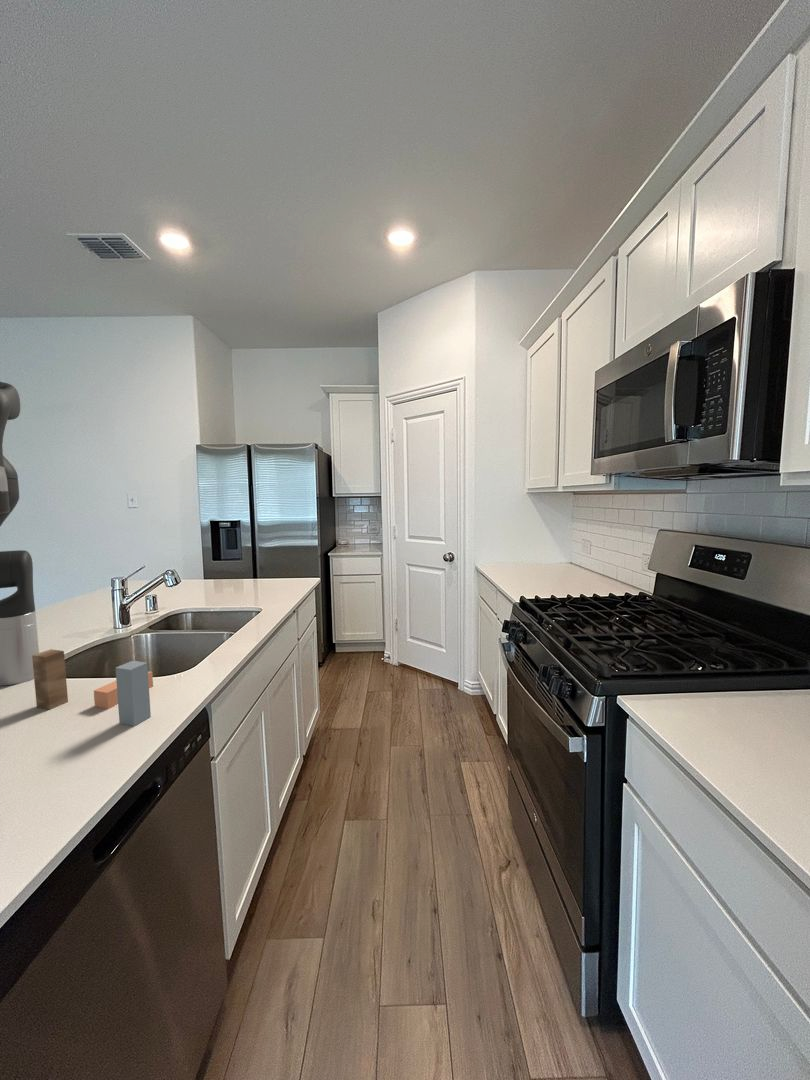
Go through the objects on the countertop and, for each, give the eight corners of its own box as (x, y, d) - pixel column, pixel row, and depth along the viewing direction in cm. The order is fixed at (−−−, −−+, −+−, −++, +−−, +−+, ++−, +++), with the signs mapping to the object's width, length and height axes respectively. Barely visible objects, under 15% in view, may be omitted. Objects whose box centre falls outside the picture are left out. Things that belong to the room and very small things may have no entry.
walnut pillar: (36, 707, 99) (32, 655, 98) (55, 699, 103) (51, 649, 102) (49, 709, 98) (45, 657, 97) (68, 701, 102) (63, 651, 101)
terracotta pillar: (93, 690, 99) (139, 670, 111) (94, 707, 100) (140, 685, 111) (107, 692, 98) (152, 671, 109) (108, 710, 98) (153, 687, 110)
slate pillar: (119, 723, 92) (115, 667, 91) (136, 714, 96) (132, 660, 95) (134, 726, 91) (130, 669, 90) (150, 716, 95) (147, 662, 94)
